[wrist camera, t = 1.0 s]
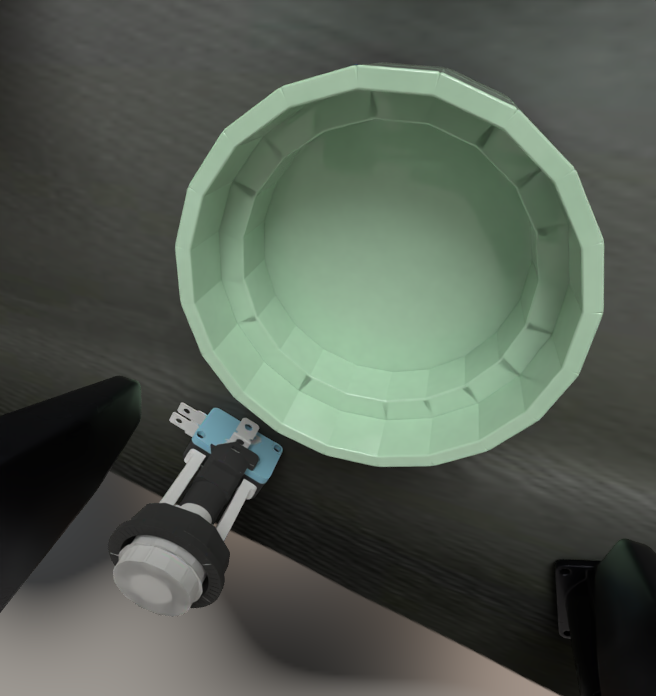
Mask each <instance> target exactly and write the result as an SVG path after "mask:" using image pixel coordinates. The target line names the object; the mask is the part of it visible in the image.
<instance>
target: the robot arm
mask: <svg viewBox="0 0 656 696" xmlns="http://www.w3.org/2000/svg"><path fill="white" fill-rule="evenodd" d="M140 419H141V387H140V384H139V382H137V381H136V380H133V379H129V378H126V377H123V376H115V377H112V378H109V379H106V380H103V381H100V382H97V383H95V384H92V385H89V386H86V387H83V388H80V389H77V390H74V391H71V392H68V393H65V394H63V395H60V396H57V397H54V398H51V399H48V400H45V401H42V402H39V403H36V404H33V405H31V406H28V407H25V408H22V409H19V410H16V411H13V412H10V413H7V414H4V415H1V416H0V612H1V611H2V610H3V609H4V607H5V606H6V605H7V604H8V602H9V601H10V600H11V598H12V597H13V596H14V595H15V593H16V592H17V591H18V589H19V588H20V587H21V586H22V585H23V583H24V582H25V581H26V580H27V578H28V577H29V576H30V574H31V573H32V572H33V571H34V569H35V568H36V567H37V566H38V564H39V563H40V562H41V561H42V559H43V558H44V557H45V556H46V554H47V553H48V552H49V551H50V549H51V548H52V547H53V545H54V544H55V543H56V542H57V540H58V539H59V538H60V537H61V535H62V534H63V533H64V532H65V530H66V529H67V528H68V526H69V525H70V524H71V523H72V521H73V520H74V519H75V518H76V516H77V515H78V514H79V513H80V511H81V510H82V509H83V508H84V506H85V505H86V504H87V502H88V501H89V500H90V498H91V497H92V496H93V495H94V493H95V492H96V491H97V489H98V488H99V486H100V484H101V483H102V482H103V480H104V478H105V477H106V475H107V474H108V472H109V471H110V469H111V467H112V466H113V464H114V463H115V461H116V459H117V458H118V456H119V455H120V453H121V451H122V450H123V448H124V447H125V445H126V443H127V442H128V440H129V439H130V437H131V436H132V434H133V432H134V431H135V429H136V428H137V426H138V424H139V422H140ZM555 583H556V600H557V618H558V630H559V634H560V635H561V636H562V637H564V638H568V639H571V643H572V649H573V655H574V661H575V667H576V673H577V679H578V685H579V691H580V696H656V554H655V552H654V551H653V550H652V549H651V548H650V547H648V546H647V545H644V544H641V543H638V542H635V541H632V540H629V539H621V540H619V541H618V542H617V543H616V544H615V545H614V546H613V548H612V549H611V550H610V551H609V553H608V554H607V555H606V556H605V558H604V559H603V560H602V561H582V560H559V561H557V562H556V563H555Z"/></svg>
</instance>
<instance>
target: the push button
mask: <svg viewBox="0 0 656 696" xmlns="http://www.w3.org/2000/svg"><path fill="white" fill-rule="evenodd" d="M184 409H188V410H189V411H190V413H189V414H188V413H186V412H185V411H184ZM178 412H179V413H181V414H183V415H184V416H186V417H187V418H189V419H191V421H189V420H187V419H186V418H184V417H182V416H181V415H179V414H177V413H176V412H173V414H172V416H171V418H170V422H172V423H173V424H175V425H177V426H178V427H180V428H182V429H183V430H185V433H186V434H188V435H190V436H191V437H192V439H191V441H190V443H189V444H188V446H187V448H186V450H185V452H184V454H183V458H184V461H185V463H187V464H186V466H185V467H184V469H183V470H182V471H181V473H180V474H179V476H178V477H177V479H176V480H175V481H174V483H173V484H172V486H171V487H170V489H169V490H168V491H167V493H166V494H165V496H164V497H163V499H162V500H161V502H160V503H152V504H147V505H146V506H145V507H144V508H142V509H141V510H140V511H139V512H138V513H137V514H136V515H135V516H133V517H132V518H131V520H129V521H126V522H124V523H122V524H121V525H119V526H118V527H117V528H116V530H115V531H114V533H113V534H112V535H111V537H110V539H109V543H108V550H109V554H110V557H111V559H112V561H113V563H114V565H115V567H114V571H113V576H114V581H115V583H116V585H117V586H118V588H119V589H120V590H121V591H122V593H123V594H124V595H125V596H126V597H127V598H128V599H130V600H131V601H133V602H134V603H135V604H137V605H138V606H140V607H141V608H144V609H146V610H148V611H151V612H153V613H155V614H159V615H165V616H172V617H173V616H179V615H182V614H185V613H186V612H187V611H188V610H189V609H190V608H199V607H204V606H207V605H210V604H212V603H213V602H214V601H216V600H217V598H218V597H219V595H220V593H221V591H222V589H223V586H224V573H225V571H226V569H227V567H228V563H229V557H230V552H229V550H228V548H227V546H226V545H225V543H224V541H225V539H226V537H227V535H228V533H229V531H230V529H231V527H232V525H233V523H234V521H235V519H236V517H237V515H238V513H239V511H240V509H241V507H242V505H243V504H244V502H245V500H246V499H253V498H255V496H256V495H257V494H258V492H259V491H260V490H261V488H262V487H263V486H264V484H265V483H266V482H267V480H268V479H269V478H270V476H271V474H272V472H273V470H274V468H275V466H276V464H277V462H278V460H279V457H280V455H281V453H282V451H283V449H282V446H280V445H279V444H278V443H276V442H273V441H272V440H270V439H269V438H267V437H265V436H264V435H262V434H260V433H259V432H258V430H259V426H258V425H257V424H256V423H254V422H253V421H251V420H249V419H248V418H243V419H242V420H241V421H239V420H237V419H236V418H234V417H232V416H231V415H229V414H227V413H226V412H224V411H222V410H221V409H219V408H213V409H212V410H211V411H210V413H209V414H208V415H207V414H205V413H203V412H202V411H200V410H199V411H196V410H195V409H193V408H191V407H190V406H188V405H186V404H185V403H181V404H180V406H179V408H178ZM177 418H179V419H181V420H182V423H178V422H177V421H176V419H177ZM247 425H250V426H251V427H252V428H250V427H249V426H247ZM198 468H199V470H200V472H199V473H198V475H197V476H196V478H195V479H194V481H193V483H192V484H191V486H190V488H189V489H188V491H187V494H186V495H185V497H184V498H183V500H182V501H181V503H180V504H179V505H175V503H176V502H177V500H178V499H179V497H180V496H181V494H182V493H183V491H184V490H185V488H186V487H187V485H188V483H189V482H190V480H191V479H192V477H193V476H194V474H195V473H196V471H197V470H198ZM234 490H236V492H235V493H234V495H233V497H232V499H231V501H230V503H229V504H228V506H227V508H226V510H225V512H224V514H223V515H222V517H221V519H220V521H219V523H218V525H217V526H216V528H215V527H214V526H213V524H214V523H215V521H216V519H217V517H218V516H219V514H220V512H221V510H222V509H223V508H224V506H225V505H226V503H227V502H228V500H229V499H230V497H231V496H232V494H233V492H234Z"/></svg>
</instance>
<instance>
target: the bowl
mask: <svg viewBox="0 0 656 696" xmlns="http://www.w3.org/2000/svg"><path fill="white" fill-rule="evenodd" d="M603 241H604V239H603V237H602V234H601V232H600V229H599V227H598V224H597V222H596V219H595V217H594V214H593V212H592V209H591V207H590V204H589V201H588V199H587V196H586V194H585V191H584V189H583V186H582V184H581V181H580V179H579V176H578V174H577V171H576V170H575V169H574V167H573V166H572V165H571V163H570V162H569V161H568V160H567V159H566V158H565V157H564V156H563V155H562V153H561V152H560V151H559V150H558V149H557V148H556V147H555V146H554V145H553V144H552V142H551V141H550V140H549V139H548V138H547V137H546V136H545V135H544V134H543V133H542V132H541V131H540V130H539V129H538V128H537V127H536V125H535V124H534V123H533V122H532V121H531V120H530V119H529V118H528V117H527V116H526V115H525V114H524V113H523V112H522V111H521V110H520V109H519V107H518V106H517V105H516V104H515V103H514V102H513V101H512V100H511V99H510V98H509V97H507V96H506V95H505V94H503V93H501V92H498V91H496V90H494V89H492V88H490V87H488V86H486V85H484V84H482V83H480V82H477V81H475V80H473V79H471V78H469V77H467V76H465V75H463V74H461V73H459V72H456V71H454V70H452V69H447V68H446V67H436V66H423V65H410V64H398V63H373V64H361V65H353V66H349V67H346V68H342V69H339V70H336V71H332V72H329V73H325V74H322V75H318V76H315V77H312V78H308V79H305V80H301V81H298V82H294V83H291V84H288V85H284V86H282V87H280V88H278V89H277V90H275V91H274V92H273V93H271V94H270V95H269V96H267V97H266V98H265V99H263V100H262V101H261V102H259V103H258V104H257V105H256V106H254V107H253V108H252V109H250V110H249V111H248V112H246V113H245V114H244V115H242V116H241V117H240V118H238V119H237V120H236V121H234V122H233V123H232V124H231V125H229V126H228V127H227V128H225V129H224V131H223V132H222V133H221V134H220V136H219V138H218V139H217V141H216V142H215V144H214V146H213V147H212V149H211V150H210V152H209V154H208V155H207V157H206V158H205V160H204V162H203V163H202V165H201V166H200V168H199V170H198V171H197V173H196V174H195V176H194V178H193V179H192V181H191V182H190V184H189V187H188V189H187V193H186V198H185V202H184V207H183V212H182V216H181V221H180V225H179V230H178V234H177V239H176V243H175V253H176V263H177V273H178V283H179V293H180V302H181V305H182V308H183V310H184V313H185V315H186V317H187V320H188V322H189V325H190V327H191V330H192V332H193V335H194V337H195V340H196V342H197V344H198V347H199V349H200V352H201V354H202V356H203V357H204V359H205V360H206V361H207V363H208V364H209V365H210V367H211V368H212V369H213V371H214V372H215V373H216V375H217V376H218V377H219V379H220V380H221V381H222V383H223V384H224V385H225V387H226V388H227V389H228V390H229V392H230V393H231V394H232V396H233V397H234V398H235V399H236V400H238V401H239V402H240V403H241V404H243V405H244V406H245V407H246V408H247V409H249V410H250V411H251V412H252V413H254V414H255V415H256V416H257V417H259V418H260V419H261V420H262V421H264V422H265V423H266V424H267V425H268V426H270V427H271V428H272V429H273V430H275V431H277V432H278V433H280V434H282V435H284V436H286V437H288V438H290V439H292V440H294V441H296V442H298V443H300V444H303V445H305V446H307V447H309V448H311V449H313V450H315V451H317V452H319V453H321V454H325V455H326V456H331V457H335V458H339V459H344V460H348V461H353V462H357V463H362V464H366V465H371V466H375V467H377V466H378V467H417V466H436V465H440V464H443V463H447V462H451V461H454V460H458V459H462V458H465V457H469V456H473V455H476V454H480V453H484V452H487V450H488V451H489V450H491V449H493V448H494V447H496V446H498V445H499V444H501V443H503V442H504V441H506V440H508V439H509V438H511V437H512V436H514V435H516V434H517V433H519V432H521V431H522V430H524V429H526V428H527V427H529V426H531V425H532V424H534V423H536V422H537V421H538V420H540V419H541V418H542V417H543V415H544V414H545V413H546V412H547V411H548V410H549V409H550V407H551V406H552V405H553V404H554V403H555V402H556V401H557V399H558V398H559V397H560V396H561V395H562V394H563V393H564V392H565V390H566V389H567V388H568V387H569V386H570V385H571V384H572V382H573V381H574V380H575V379H576V378H577V377H578V375H579V373H580V371H581V369H582V366H583V364H584V361H585V359H586V356H587V354H588V351H589V349H590V346H591V343H592V341H593V338H594V336H595V333H596V331H597V328H598V326H599V323H600V321H601V318H602V316H603V311H604V242H603Z"/></svg>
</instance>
